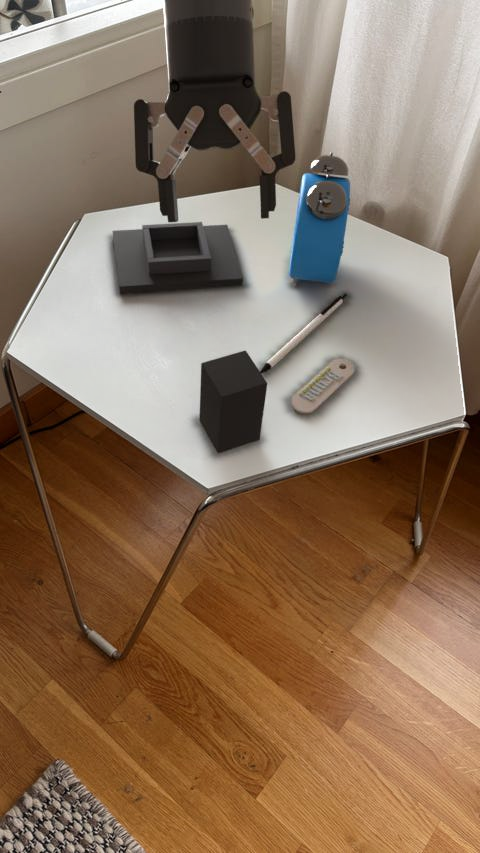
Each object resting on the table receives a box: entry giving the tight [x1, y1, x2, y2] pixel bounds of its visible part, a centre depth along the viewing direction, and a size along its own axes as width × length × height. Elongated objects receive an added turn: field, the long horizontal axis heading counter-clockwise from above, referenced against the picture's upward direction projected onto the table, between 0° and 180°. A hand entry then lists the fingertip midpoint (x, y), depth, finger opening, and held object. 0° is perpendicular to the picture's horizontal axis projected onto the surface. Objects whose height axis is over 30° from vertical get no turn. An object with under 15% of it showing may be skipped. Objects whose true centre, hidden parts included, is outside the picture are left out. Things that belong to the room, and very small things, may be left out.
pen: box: [259, 293, 348, 375], centre depth 88 cm, size 1×19×1 cm, turn 142°
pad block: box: [198, 350, 268, 454], centre depth 74 cm, size 5×5×9 cm
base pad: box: [112, 221, 244, 295], centre depth 94 cm, size 16×12×3 cm
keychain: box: [290, 357, 355, 414], centre depth 82 cm, size 10×1×3 cm
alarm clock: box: [288, 152, 351, 286], centre depth 90 cm, size 13×6×15 cm, turn 173°
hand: (219, 220), depth 65 cm, fingers open, 8 cm apart
